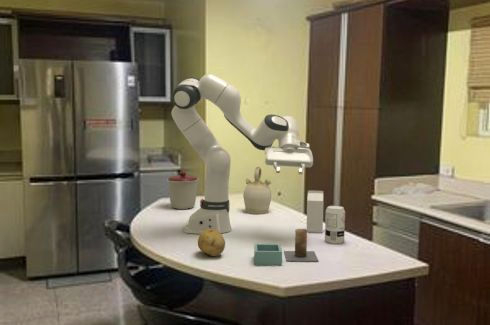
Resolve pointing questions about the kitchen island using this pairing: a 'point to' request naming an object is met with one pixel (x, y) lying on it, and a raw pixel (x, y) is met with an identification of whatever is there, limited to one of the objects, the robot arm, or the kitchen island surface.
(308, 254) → the mat
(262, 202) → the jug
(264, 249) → the tub
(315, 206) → the milk carton
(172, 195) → the canister
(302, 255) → the walnut peg
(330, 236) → the supplement can
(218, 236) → the potato
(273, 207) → the kitchen island surface
